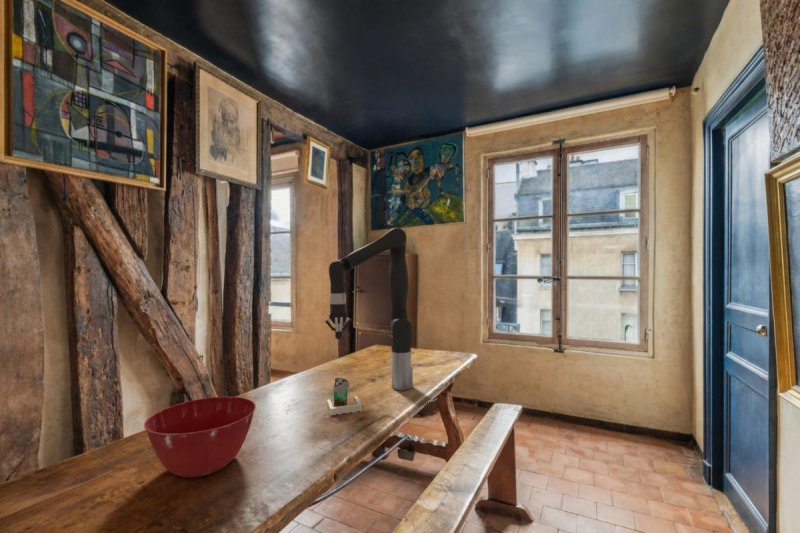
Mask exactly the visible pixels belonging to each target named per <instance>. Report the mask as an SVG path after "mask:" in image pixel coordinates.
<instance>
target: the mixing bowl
mask: <svg viewBox="0 0 800 533" xmlns="http://www.w3.org/2000/svg"><path fill="white" fill-rule="evenodd" d="M256 409H257V408H256V403H255V402H254V401H252V400H251V399H249V398H245V397H239V396H214V397H213V396H211V397H204V398H203V397H202V398H200V399H199V398H198V399H193V400H188V401H185V402H180V403H177V404H174V405H172V406H169V407H165V408H163V409H162V410H159V411H157V412H155V413H154V414H152V415H150V416H149V417H148V418H147V419H146V420H145V421H144V424H143V427H144V429H145V430H146V431H147V432H146V433H147V436H148V439H149V441H150V444H151V447H152V449H153V451H154V453H155V455H156V457H157V458H158V459H159V461H160V463H161V464H162V465H163V467H165V469H166V470H167V471H169V472H170V473H172V474H174V475H177V476H179V477H182V478H188V477H189V479H190V478H191V479H192V478H193V479H194V478H200V477H204V476H207V475H208V476H209V475H212V474H214V473H217V472H218V471H220V470H222V469H223V468H225V467H226V466H227V465H228V464H230V463H231V462H232V461H233V460H234V459H235V457H236V456H238V453H239V452H240V450H241V449H242V446H243V444H244V442H245V441H246V438H247V435H248V433H249V431H250V427H251V424H252V421H253V417H254V416H253V415H254V414H255V411H256Z"/></svg>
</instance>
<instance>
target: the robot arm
mask: <svg viewBox="0 0 800 533" xmlns="http://www.w3.org/2000/svg"><path fill="white" fill-rule="evenodd" d="M406 249H407V234H406V232H405V231H404V229H402V228H400V227H394V228H393V227H392V228H391V229H390V230H389V231H388V232H386V233H385V234H383V235H382V236H380V237H379V238H378V239H375V240H374V241H372V242H370V243H368V244H366V245H365V246H364V245H363V246H362V247H361V248H357V249H356V250H354V251H352V252H350V253H349V254H347V255H346V256H345V257H343V258H341V259H338V260H333V261H332V262H330V264H329V266H328V274H329V282H330V286H329V287H330V288H329V289H330V296H329V315H328V316H329V317H328V318H327V319H324V322H325V323H326V325H327V326H328V327H329V328H330V330H332V331H334V336H335V339H336V340H337V341H338V340H341V339H342V336H343V334H342V332H343V331H345V330H346V329H348V327H349V325H350V324H351V322H352V321H353V320H352V318H349V317H348V314H347V295H346V294H347V293H346V282H345V278H344V277H345V274H346V273H348V272H350V271H351V270H353V269H354V268H357V267H358V266H361V265H362V264H364V263H367V262H368V261H370V260H372V259H374V257H376V256H378V255H379V254H381V253H383V252H386V251H388V250H389V258H390V262H389V267H388V268H389V271H388V286H389V287H388V288H389V289H388V290H389V297H390V298H389V299H390V305H391V308H390V309H391V311H390V330H391V333H392V334H391V335H392V336H391V338H392V342H391V347H390V348H391V388H392V389H393V390H396V391H407V390H410V389H413V387H414V384H413V383H414V382H413V381H414V377H413V375H414V373H413V371H414V370H413V367H412V344H413V339H412V338H413V327H412V323H411V322H410V320H409V318H408V311H407V310H408V309H407V304H408V303H407V302H408V297H409V296H408V295H409V290H410V288H409V286H410V284H409V272H408V266H407V259H406ZM331 322H332V323H333V324H334V325H332V324H331ZM333 326H334V327H333Z"/></svg>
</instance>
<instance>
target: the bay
mask: <svg viewBox="0 0 800 533" xmlns="http://www.w3.org/2000/svg"><path fill="white" fill-rule="evenodd" d="M353 403H354V404H347V405H346V406H338V407H334V405H333V404H332V401H331V399H327V400H326V406H328V407H327V409H329V410H328V413H329V415H330V416H336V414H338V415H343V413H345V414H350V412H352V413H358V412H357V411H360V412H363V404H362V402H361V401H360V399H359V397H358V396H357V395H354V396H353Z"/></svg>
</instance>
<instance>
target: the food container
mask: <svg viewBox="0 0 800 533" xmlns="http://www.w3.org/2000/svg"><path fill="white" fill-rule="evenodd" d="M349 388H350V382H349V380H348V379H347V378H343V377H335V378H334V386H333V407H338V406H346V405H348V392H349Z"/></svg>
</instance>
